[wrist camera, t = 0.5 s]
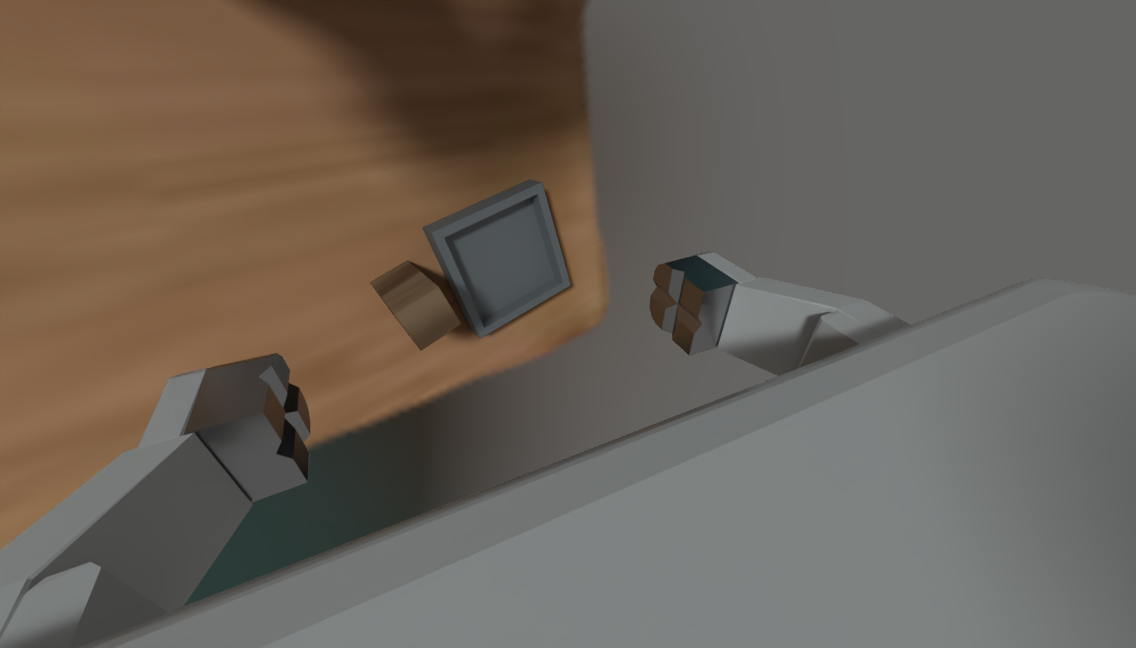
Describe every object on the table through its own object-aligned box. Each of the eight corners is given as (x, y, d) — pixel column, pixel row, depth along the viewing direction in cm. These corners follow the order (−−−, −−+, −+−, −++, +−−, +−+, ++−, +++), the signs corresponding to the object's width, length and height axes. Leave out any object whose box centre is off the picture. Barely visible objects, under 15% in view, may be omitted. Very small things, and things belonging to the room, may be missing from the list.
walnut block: (369, 282, 44) (394, 314, 36) (407, 260, 45) (438, 286, 38) (393, 314, 46) (420, 350, 39) (428, 293, 48) (461, 323, 40)
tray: (422, 227, 45) (431, 233, 42) (529, 179, 50) (542, 182, 48) (470, 329, 53) (480, 338, 50) (558, 279, 58) (570, 285, 55)
